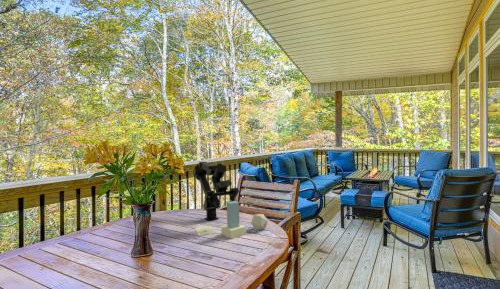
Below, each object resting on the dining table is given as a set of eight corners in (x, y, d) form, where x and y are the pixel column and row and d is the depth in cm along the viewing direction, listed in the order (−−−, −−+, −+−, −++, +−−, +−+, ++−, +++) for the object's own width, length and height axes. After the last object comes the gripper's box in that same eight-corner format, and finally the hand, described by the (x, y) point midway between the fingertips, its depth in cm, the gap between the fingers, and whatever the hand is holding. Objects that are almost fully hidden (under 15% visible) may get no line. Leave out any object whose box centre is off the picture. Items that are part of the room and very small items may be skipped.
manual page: (194, 228, 160) (194, 227, 160) (210, 226, 163) (210, 225, 163) (198, 235, 149) (198, 234, 149) (215, 233, 152) (215, 232, 152)
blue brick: (227, 226, 150) (226, 202, 149) (236, 224, 152) (235, 200, 152) (230, 228, 146) (229, 203, 146) (239, 226, 149) (238, 202, 148)
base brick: (221, 234, 150) (221, 226, 150) (235, 230, 156) (235, 222, 156) (231, 238, 143) (231, 230, 143) (245, 234, 149) (245, 226, 149)
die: (264, 233, 151) (272, 216, 154) (249, 226, 151) (257, 209, 154) (261, 234, 158) (268, 218, 162) (247, 227, 158) (254, 211, 162)
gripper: (205, 176, 155) (213, 201, 146) (237, 173, 164) (246, 196, 155) (201, 188, 163) (208, 212, 154) (231, 185, 172) (240, 207, 162)
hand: (226, 207), depth 156 cm, fingers open, 9 cm apart
